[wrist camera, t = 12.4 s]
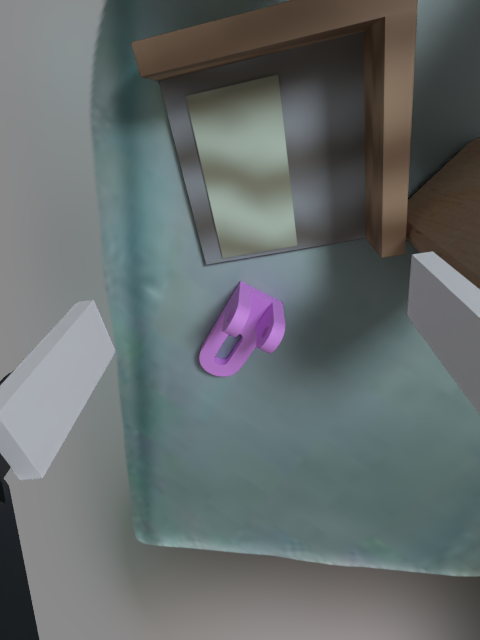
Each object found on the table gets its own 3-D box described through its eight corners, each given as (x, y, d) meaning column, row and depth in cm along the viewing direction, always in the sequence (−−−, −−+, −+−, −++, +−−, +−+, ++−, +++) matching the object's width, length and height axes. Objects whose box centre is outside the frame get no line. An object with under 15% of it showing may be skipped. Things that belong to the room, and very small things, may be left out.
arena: (152, 53, 30) (131, 42, 24) (388, -7, 27) (419, -33, 22) (206, 262, 39) (199, 286, 34) (384, 233, 37) (405, 254, 32)
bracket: (240, 280, 40) (237, 311, 34) (282, 301, 42) (286, 334, 36) (193, 359, 46) (184, 396, 41) (231, 375, 48) (227, 414, 42)
